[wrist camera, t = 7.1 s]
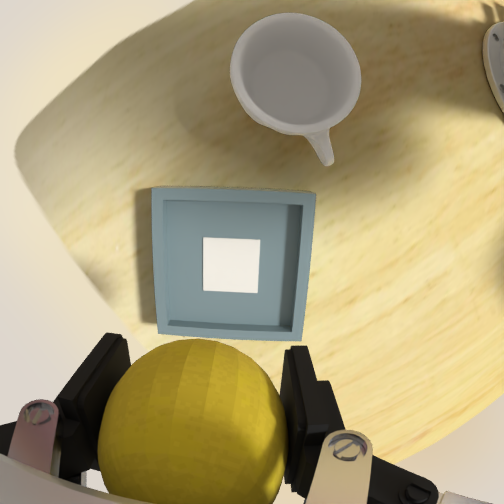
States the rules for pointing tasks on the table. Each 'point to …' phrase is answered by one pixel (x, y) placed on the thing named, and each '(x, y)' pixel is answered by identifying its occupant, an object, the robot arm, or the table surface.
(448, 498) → the robot arm
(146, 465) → the lemon
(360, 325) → the table surface
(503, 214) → the table surface
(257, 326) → the tray
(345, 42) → the teacup
